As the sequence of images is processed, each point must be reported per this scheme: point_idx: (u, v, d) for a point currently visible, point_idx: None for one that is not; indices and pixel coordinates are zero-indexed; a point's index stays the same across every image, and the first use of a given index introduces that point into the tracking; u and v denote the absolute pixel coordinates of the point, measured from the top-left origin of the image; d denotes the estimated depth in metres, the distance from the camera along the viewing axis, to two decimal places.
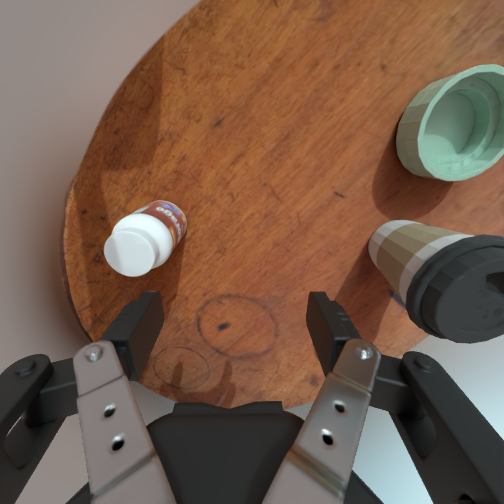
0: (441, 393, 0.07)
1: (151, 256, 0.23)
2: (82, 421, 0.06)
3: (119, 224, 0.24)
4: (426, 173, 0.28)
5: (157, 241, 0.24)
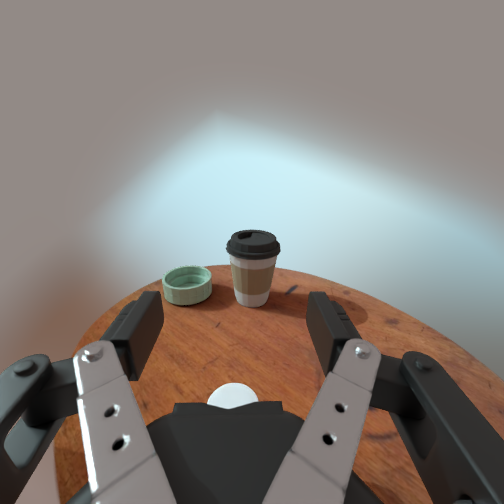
0: (441, 393, 0.07)
1: (235, 384, 0.23)
2: (82, 421, 0.06)
3: None
4: (206, 285, 0.53)
5: None
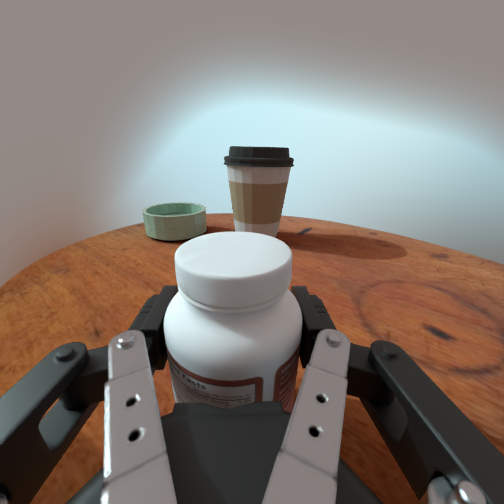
0: (408, 378, 0.08)
1: (238, 232, 0.12)
2: (106, 406, 0.06)
3: (174, 326, 0.09)
4: (198, 217, 0.41)
5: None
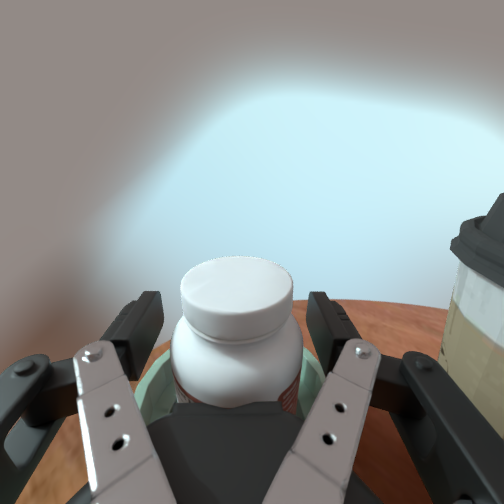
0: (441, 393, 0.07)
1: (240, 257, 0.12)
2: (82, 421, 0.06)
3: (180, 353, 0.10)
4: None
5: None
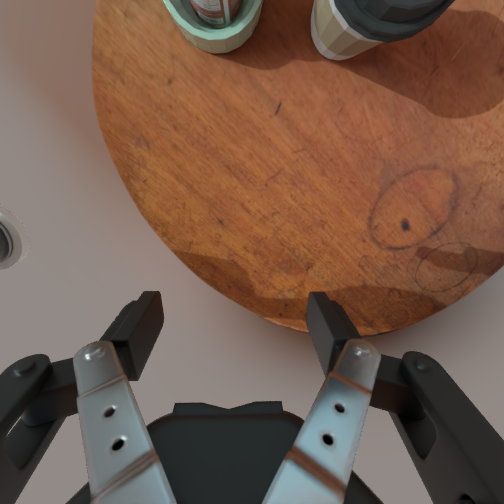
0: (441, 393, 0.07)
1: None
2: (82, 421, 0.06)
3: None
4: (257, 11, 0.25)
5: None
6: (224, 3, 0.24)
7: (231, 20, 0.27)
